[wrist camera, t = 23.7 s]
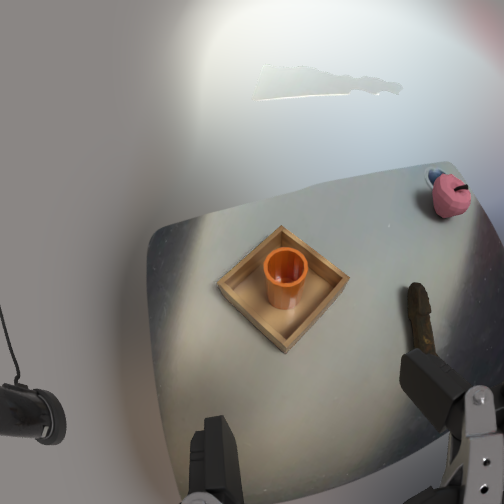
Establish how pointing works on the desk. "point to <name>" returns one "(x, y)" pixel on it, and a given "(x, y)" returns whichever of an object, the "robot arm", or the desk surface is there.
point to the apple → (450, 196)
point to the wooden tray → (255, 300)
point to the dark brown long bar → (420, 318)
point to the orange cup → (285, 277)
